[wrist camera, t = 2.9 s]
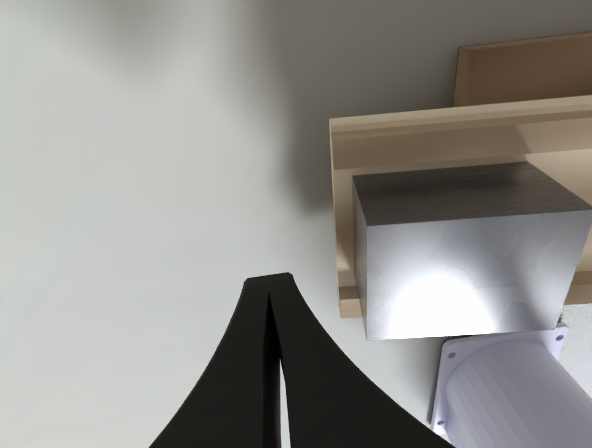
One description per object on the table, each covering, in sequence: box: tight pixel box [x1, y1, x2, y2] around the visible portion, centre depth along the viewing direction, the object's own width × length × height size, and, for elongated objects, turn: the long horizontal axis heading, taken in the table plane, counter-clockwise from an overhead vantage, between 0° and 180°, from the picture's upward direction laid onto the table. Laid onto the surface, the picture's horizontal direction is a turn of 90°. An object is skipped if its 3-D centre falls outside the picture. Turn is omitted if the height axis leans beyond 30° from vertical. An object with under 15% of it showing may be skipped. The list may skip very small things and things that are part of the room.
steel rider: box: [352, 161, 592, 340], centre depth 13 cm, size 4×6×4 cm
